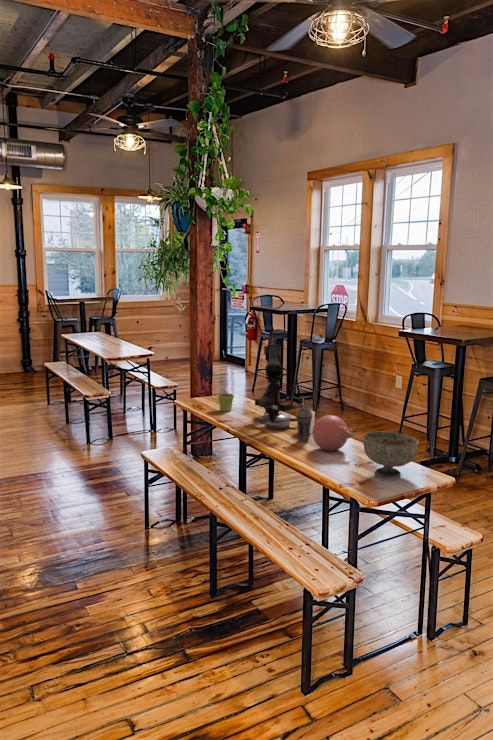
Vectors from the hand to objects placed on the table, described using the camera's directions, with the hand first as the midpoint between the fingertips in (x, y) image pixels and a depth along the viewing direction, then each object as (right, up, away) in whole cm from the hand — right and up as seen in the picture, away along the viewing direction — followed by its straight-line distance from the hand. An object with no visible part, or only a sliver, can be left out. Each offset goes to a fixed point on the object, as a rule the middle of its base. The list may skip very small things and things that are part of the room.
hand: (272, 422), depth 277 cm
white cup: (+16, -5, +3) cm, 17 cm away
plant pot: (-24, +2, +44) cm, 51 cm away
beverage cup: (+14, -8, -11) cm, 19 cm away
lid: (0, +1, +9) cm, 9 cm away
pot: (+3, -3, +13) cm, 14 cm away
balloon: (+25, -11, -26) cm, 38 cm away
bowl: (+42, -16, -54) cm, 70 cm away
